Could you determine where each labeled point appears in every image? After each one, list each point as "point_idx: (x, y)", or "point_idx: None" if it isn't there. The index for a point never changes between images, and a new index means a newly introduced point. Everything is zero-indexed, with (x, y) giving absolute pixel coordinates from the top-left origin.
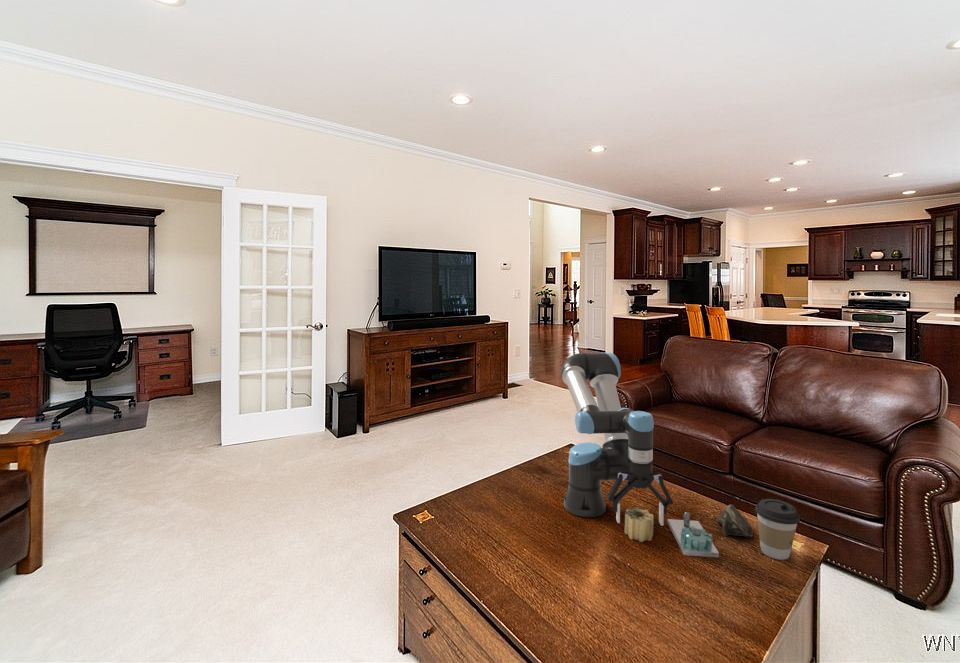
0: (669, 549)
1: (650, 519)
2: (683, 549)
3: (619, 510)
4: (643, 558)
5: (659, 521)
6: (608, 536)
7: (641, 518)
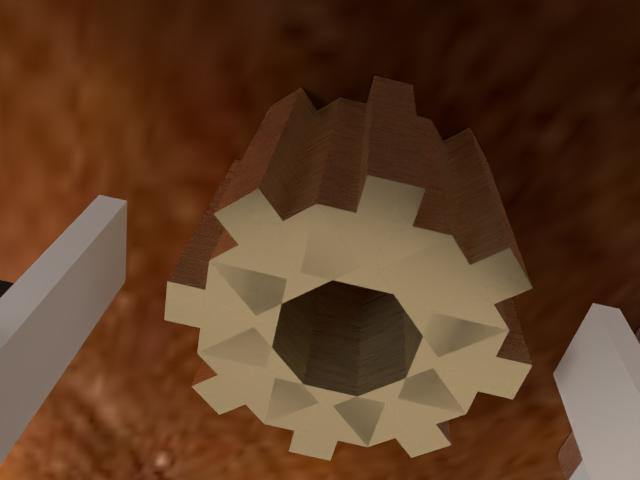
0: (500, 397)
1: (429, 444)
2: (572, 475)
3: (45, 387)
4: (269, 439)
5: (584, 334)
6: (73, 203)
7: (332, 416)
